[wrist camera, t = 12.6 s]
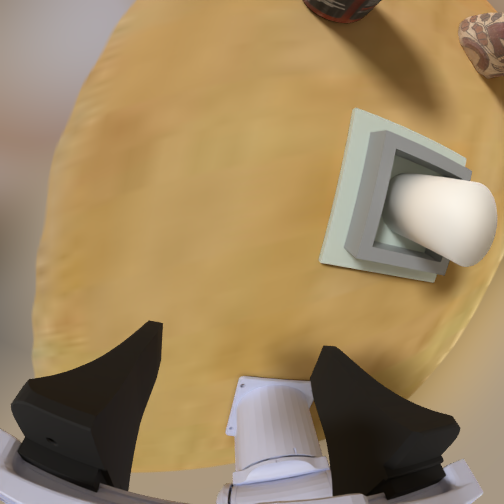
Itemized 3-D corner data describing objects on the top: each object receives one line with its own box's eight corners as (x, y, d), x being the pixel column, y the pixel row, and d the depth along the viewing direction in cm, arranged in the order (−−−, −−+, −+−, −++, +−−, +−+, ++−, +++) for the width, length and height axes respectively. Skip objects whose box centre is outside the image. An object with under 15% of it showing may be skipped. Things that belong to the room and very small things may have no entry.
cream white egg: (420, 239, 21) (484, 271, 14) (373, 227, 21) (435, 260, 13) (434, 182, 20) (503, 196, 12) (387, 165, 19) (456, 170, 12)
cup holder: (430, 280, 23) (449, 293, 21) (318, 260, 22) (330, 275, 19) (462, 158, 20) (484, 160, 17) (352, 108, 19) (370, 102, 16)
